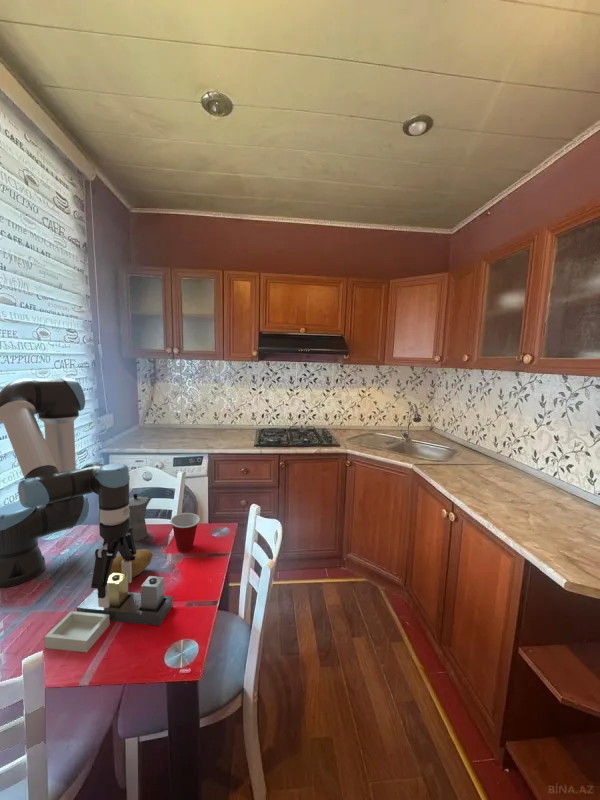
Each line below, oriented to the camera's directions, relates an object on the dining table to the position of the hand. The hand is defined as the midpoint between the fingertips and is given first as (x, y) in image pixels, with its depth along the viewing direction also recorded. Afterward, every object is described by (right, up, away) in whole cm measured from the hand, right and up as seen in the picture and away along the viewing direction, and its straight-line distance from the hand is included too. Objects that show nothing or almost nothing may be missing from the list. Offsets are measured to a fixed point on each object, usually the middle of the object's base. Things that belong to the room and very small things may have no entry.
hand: (116, 593), depth 99 cm
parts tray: (-5, -6, -9) cm, 12 cm away
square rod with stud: (+11, -6, 0) cm, 12 cm away
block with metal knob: (0, -5, +1) cm, 5 cm away
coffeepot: (-15, 0, +42) cm, 44 cm away
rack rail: (+3, -5, 0) cm, 6 cm away
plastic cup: (+8, -2, +35) cm, 36 cm away
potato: (-4, -4, +17) cm, 18 cm away
